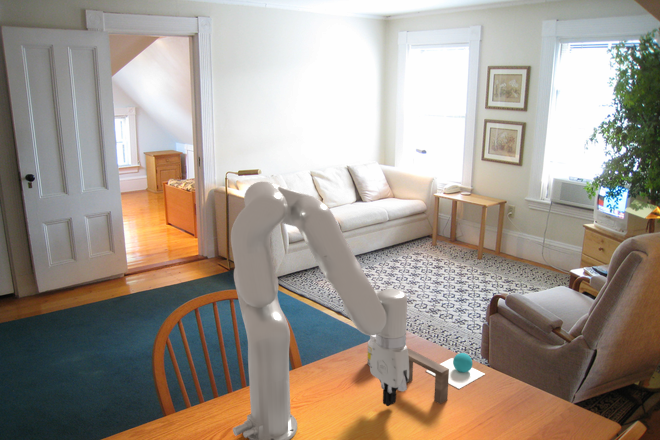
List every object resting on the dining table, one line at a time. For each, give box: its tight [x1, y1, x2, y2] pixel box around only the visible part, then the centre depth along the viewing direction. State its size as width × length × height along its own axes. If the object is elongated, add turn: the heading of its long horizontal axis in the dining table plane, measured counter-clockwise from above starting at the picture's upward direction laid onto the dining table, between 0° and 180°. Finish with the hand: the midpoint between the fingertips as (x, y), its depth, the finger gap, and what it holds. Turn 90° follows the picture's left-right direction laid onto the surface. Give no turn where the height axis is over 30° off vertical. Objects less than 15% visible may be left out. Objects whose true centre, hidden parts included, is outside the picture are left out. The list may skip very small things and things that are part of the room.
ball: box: [453, 352, 473, 373], centre depth 153 cm, size 6×6×6 cm
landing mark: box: [425, 357, 486, 390], centre depth 153 cm, size 12×12×1 cm
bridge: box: [406, 347, 449, 405], centre depth 143 cm, size 3×14×9 cm, turn 39°
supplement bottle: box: [367, 335, 376, 367], centre depth 157 cm, size 5×5×10 cm
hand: (389, 402), depth 136 cm, fingers closed
